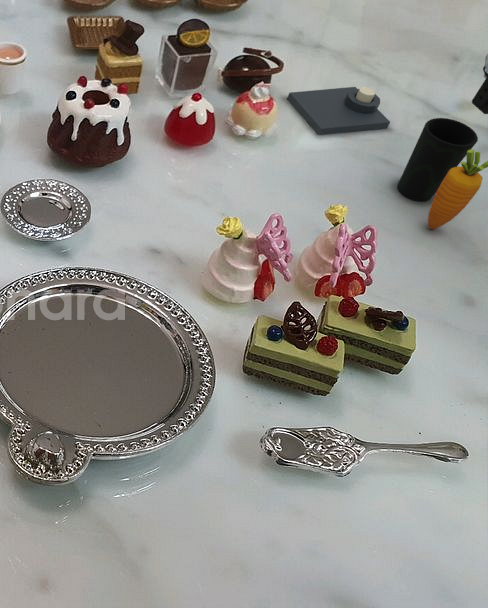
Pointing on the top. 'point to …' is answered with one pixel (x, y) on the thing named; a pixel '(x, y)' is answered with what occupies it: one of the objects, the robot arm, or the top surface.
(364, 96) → the button
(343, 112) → the scale
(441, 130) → the cup
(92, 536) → the top surface
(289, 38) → the top surface
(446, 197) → the carrot
